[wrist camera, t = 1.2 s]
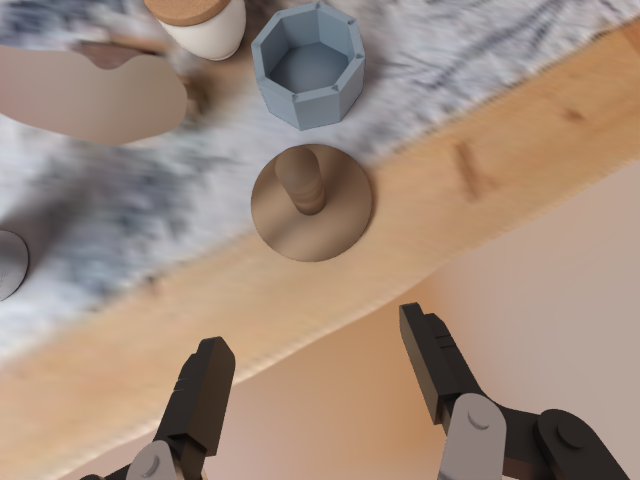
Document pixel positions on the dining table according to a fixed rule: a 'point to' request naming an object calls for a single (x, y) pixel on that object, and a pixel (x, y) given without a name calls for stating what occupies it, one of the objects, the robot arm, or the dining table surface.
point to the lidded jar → (203, 25)
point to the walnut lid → (311, 202)
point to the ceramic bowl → (309, 64)
